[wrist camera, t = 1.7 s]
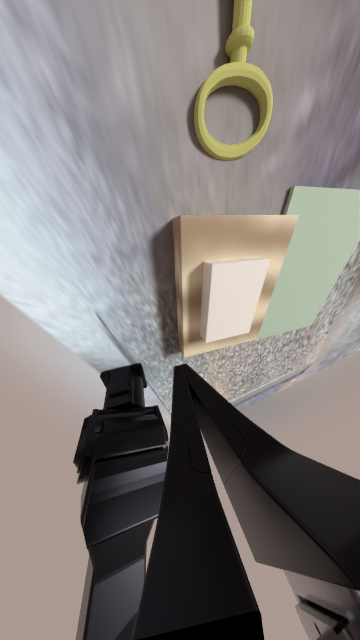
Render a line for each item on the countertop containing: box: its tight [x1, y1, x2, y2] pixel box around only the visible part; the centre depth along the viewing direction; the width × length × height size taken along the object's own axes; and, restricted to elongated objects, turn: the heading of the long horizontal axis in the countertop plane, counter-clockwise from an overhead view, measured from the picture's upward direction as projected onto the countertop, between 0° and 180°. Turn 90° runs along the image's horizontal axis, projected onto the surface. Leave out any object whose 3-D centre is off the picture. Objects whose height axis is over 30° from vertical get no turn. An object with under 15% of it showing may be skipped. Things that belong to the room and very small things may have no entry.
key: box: [194, 0, 273, 160], centre depth 10 cm, size 7×12×2 cm, turn 25°
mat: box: [248, 186, 360, 342], centre depth 25 cm, size 24×18×1 cm
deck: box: [172, 215, 299, 358], centre depth 20 cm, size 18×14×3 cm
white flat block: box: [200, 257, 270, 343], centre depth 17 cm, size 10×7×2 cm
